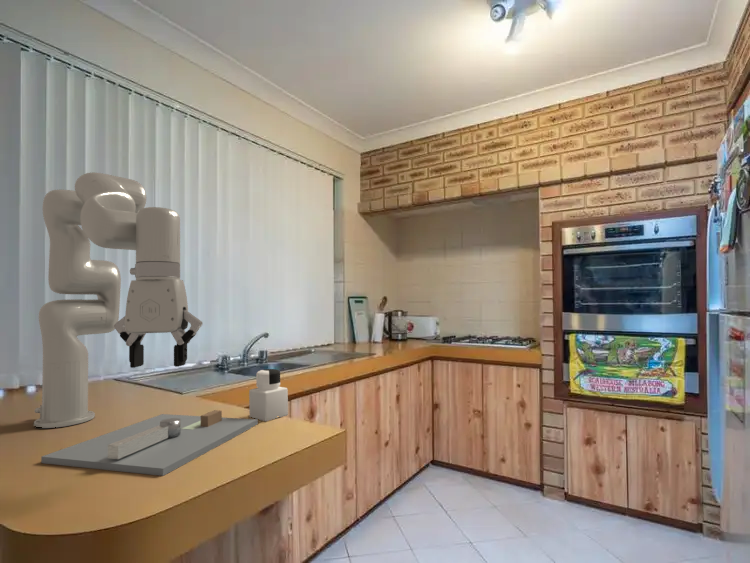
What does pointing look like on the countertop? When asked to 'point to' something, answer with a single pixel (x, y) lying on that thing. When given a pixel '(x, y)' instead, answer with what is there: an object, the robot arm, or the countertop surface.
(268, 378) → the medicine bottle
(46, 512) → the countertop surface
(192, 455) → the latch plate
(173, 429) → the swing bar
